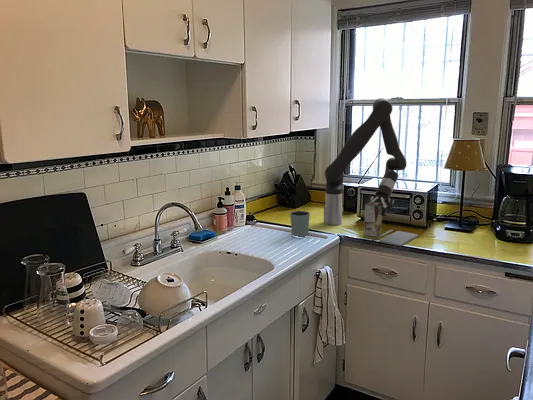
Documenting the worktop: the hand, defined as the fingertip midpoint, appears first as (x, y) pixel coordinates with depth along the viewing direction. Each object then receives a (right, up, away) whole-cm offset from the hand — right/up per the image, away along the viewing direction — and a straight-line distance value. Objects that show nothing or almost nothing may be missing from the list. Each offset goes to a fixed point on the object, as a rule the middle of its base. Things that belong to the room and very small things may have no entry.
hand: (374, 214), depth 232 cm
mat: (+10, -12, -8) cm, 18 cm away
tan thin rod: (+4, -11, -2) cm, 12 cm away
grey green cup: (-38, -11, +1) cm, 40 cm away
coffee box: (-1, -10, +1) cm, 10 cm away
